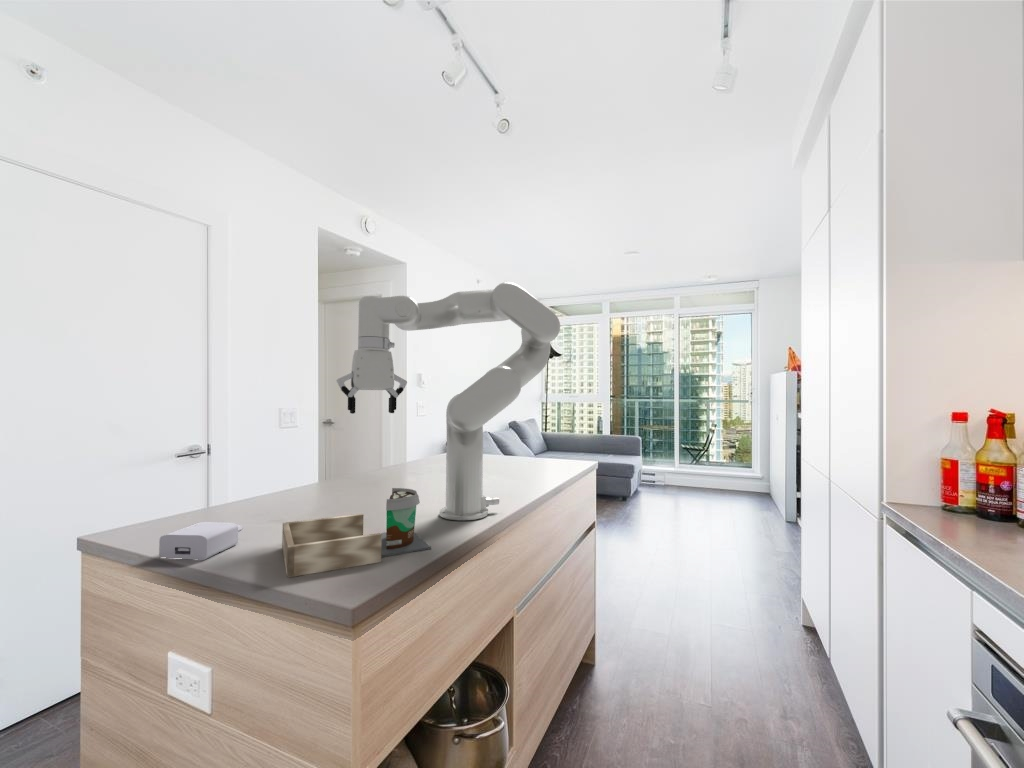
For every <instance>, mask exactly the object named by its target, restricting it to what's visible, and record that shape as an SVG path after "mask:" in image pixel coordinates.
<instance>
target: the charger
mask: <svg viewBox="0 0 1024 768" xmlns="http://www.w3.org/2000/svg"><path fill="white" fill-rule="evenodd" d="M243 528H244V527H243V526H242V524H238V523H235V522H224V521H223V522H219V521H218V522H216V521H200V522H197V523H195V524H192V525H188V526H186V527H183V528H180V529H177V530H174V531H171V532H169V533H166V534H164V535H162V536H160V537H159V542H158V543H159V545H158V547H159V548H158V556H159V558H160V557H166V558H182V559H198V560H197V561H205V560H208V559H209V558H211V557H213V556H215V555H218V554H219V552H220V553H222V552H223V551H225V550H228V549H229V548H233V547H234V546H236V545H237V544H238V543H239V533H240V532H241V531H242V530H243Z"/></svg>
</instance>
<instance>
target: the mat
mask: <svg viewBox="0 0 1024 768" xmlns="http://www.w3.org/2000/svg"><path fill="white" fill-rule="evenodd" d="M380 533H381V534H382V537H381V558H384V557H390V556H397V555H402V554H408V553H407V552H410V553H413V551H416V552H419V551H418V550H422V551H426V550H425V549H428V550H432V546H431V545H429V543H427V542H426V541H425V540H424V539H422V538H421V537H420V536H419V535H418V534H417V533H415V532H414V539H413V542H412V543H411V544H410V545H408V546H405V547H401V548H396V549H387V550H386V532H380Z"/></svg>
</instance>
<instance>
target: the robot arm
mask: <svg viewBox="0 0 1024 768" xmlns="http://www.w3.org/2000/svg"><path fill="white" fill-rule="evenodd" d="M509 320H510V321H511V322H513V323H514V324H515V325H517V327H518V328H520V329H521V331H520V333H521V334H520V335H521V345H519V348H518V349H517V350H516V351H515V352H513V354H511V355H510V356H508V357H507V358H506V359H505V360H504V361H502V362H501V363H500V364H498V365H497V366H495V367H493V368H490V369H489V370H487V372H486V373H485V374H483V375H482V376H481V377H479V378H478V379H477V380H475V382H473V383H472V384H470V385H469V386H468V387H467V388H466V389H464V390H462V391H461V392H460V393H458V394H456V395H454V396H453V397H452V398H451V399H450V400H449V401H448V404H447V406H446V414H445V418H446V421H445V422H446V455H445V456H446V458H445V462H446V463H445V465H446V467H445V507H442V508H441V509H439V512H438V513H439V514H438V515H439V517H441V518H443V519H445V520H451V521H474V520H480V519H483V518H485V517H487V516H488V515H489V509H488V508H487V507H489V506H496V505H499V504H500V497H498V496H497V497H496V496H495V497H490V496H485V495H483V492H484V491H483V487H484V486H483V483H484V481H483V475H484V473H483V472H484V465H483V464H484V425H485V424H487V423H488V422H489V421H491V420H492V419H493V418H495V416H497V415H498V414H499V413H501V412H502V411H503V410H505V409H506V408H507V407H508V406H510V405H511V404H512V403H513V402H514V401H515V400H516V399H517V398H518V397H519V396H520V393H521V391H522V388H523V387H524V386H526V385H527V384H528V383H530V381H532V380H533V379H535V377H537V376H538V375H539V374H540V373H541V372H542V371H543V370H544V368H545V367H546V365H547V364H548V361H549V358H550V354H551V342H552V341H554V340H555V339H557V337H558V336H559V333H560V330H561V323H560V319H559V317H558V315H556V313H555V312H554V311H553V310H552V309H550V308H549V307H548V306H546V305H545V303H543V302H542V301H540V300H538V299H537V298H536V297H535V296H534V295H532V294H531V293H530V292H528V291H527V290H526V289H525V288H523V287H522V286H520V285H518V284H517V283H514V282H511V281H504V282H501V283H499V284H498V285H497V286H495V288H491V289H481V290H480V289H479V290H478V289H477V290H466V291H465V290H464V291H461V290H460V291H456V292H454V293H452V294H450V295H448V296H446V297H444V298H441V299H438V300H435V301H434V300H433V301H429V302H428V301H427V302H417V300H415V298H413V297H410V296H408V295H394V296H383V297H382V296H378V295H366V296H362V297H361V298H360V299H359V302H358V333H357V335H358V337H357V349H356V350H354V351H353V356H352V363H351V370H350V371H351V372H350V373H348V374H346V375H344V376H341V377H339V378H337V379H336V383H337V385H338V388H340V391H341V392H342V393H343V394H344V395H346V397H347V410H348V411H349V414H356V397H355V395H356V393H357V392H358V391H360V390H361V391H386V392H387V393H388V395H389V397H388V413H389V414H395V411H397V398H398V397H399V396H400V395H401V394H402V393H403V391H404V389H405V388H406V386H407V384H408V381H407V380H406V379H404V378H402V377H401V376H400V375H396V373H395V369H394V360H393V354H392V351H391V350H390V349H392V348H393V349H394V348H395V345H396V343H395V342H392V341H391V339H390V324H393V325H394V326H395V327H397V328H398V329H400V330H402V331H407V332H409V331H424V330H433V329H441V328H447V327H455V326H459V325H469V324H479V323H481V324H482V323H491V322H493V323H495V322H503V321H505V322H506V321H509ZM349 380H350V387H351V388H350V389H349V388H348V387H347V386H346V383H345V382H346V381H349ZM395 382H397V383H398V384H399V385H398V387H397V388H396V389H394V387H395Z"/></svg>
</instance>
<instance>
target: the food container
mask: <svg viewBox="0 0 1024 768" xmlns="http://www.w3.org/2000/svg"><path fill="white" fill-rule="evenodd" d="M418 505H420V496H419V494H418V492H417V490H414V489H412V488H404V487H403V488H401V487H392V488H391V495H390V496H389V499H388V498H387V499H386V507H385V508H386V509H385V511H386V532H385V533H386V550H387V549H396V548H401V547H405V546H408V545H410V544H411V543H412V542H413V539H414V533H415V527H416V526H415V525H416V512H417V506H418Z"/></svg>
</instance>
